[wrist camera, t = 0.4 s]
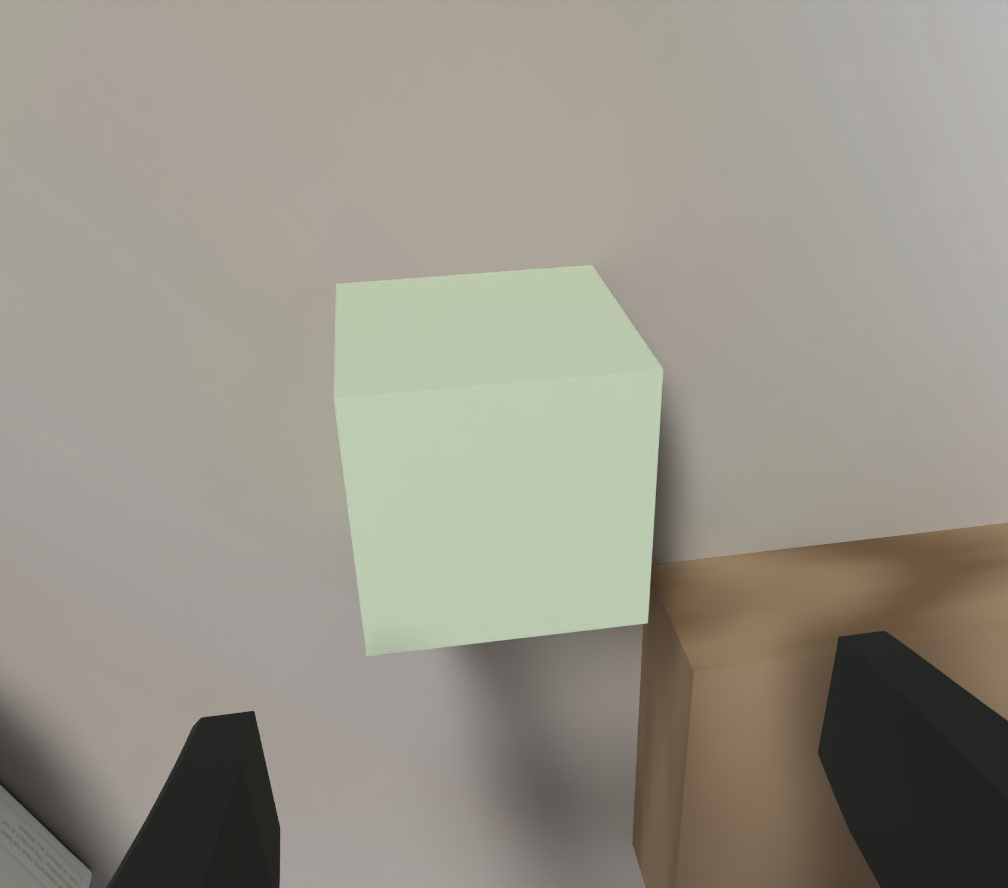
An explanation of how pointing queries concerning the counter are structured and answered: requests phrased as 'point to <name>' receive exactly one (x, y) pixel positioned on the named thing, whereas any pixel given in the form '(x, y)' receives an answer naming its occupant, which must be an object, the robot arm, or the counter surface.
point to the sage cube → (495, 456)
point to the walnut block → (790, 694)
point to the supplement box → (34, 852)
